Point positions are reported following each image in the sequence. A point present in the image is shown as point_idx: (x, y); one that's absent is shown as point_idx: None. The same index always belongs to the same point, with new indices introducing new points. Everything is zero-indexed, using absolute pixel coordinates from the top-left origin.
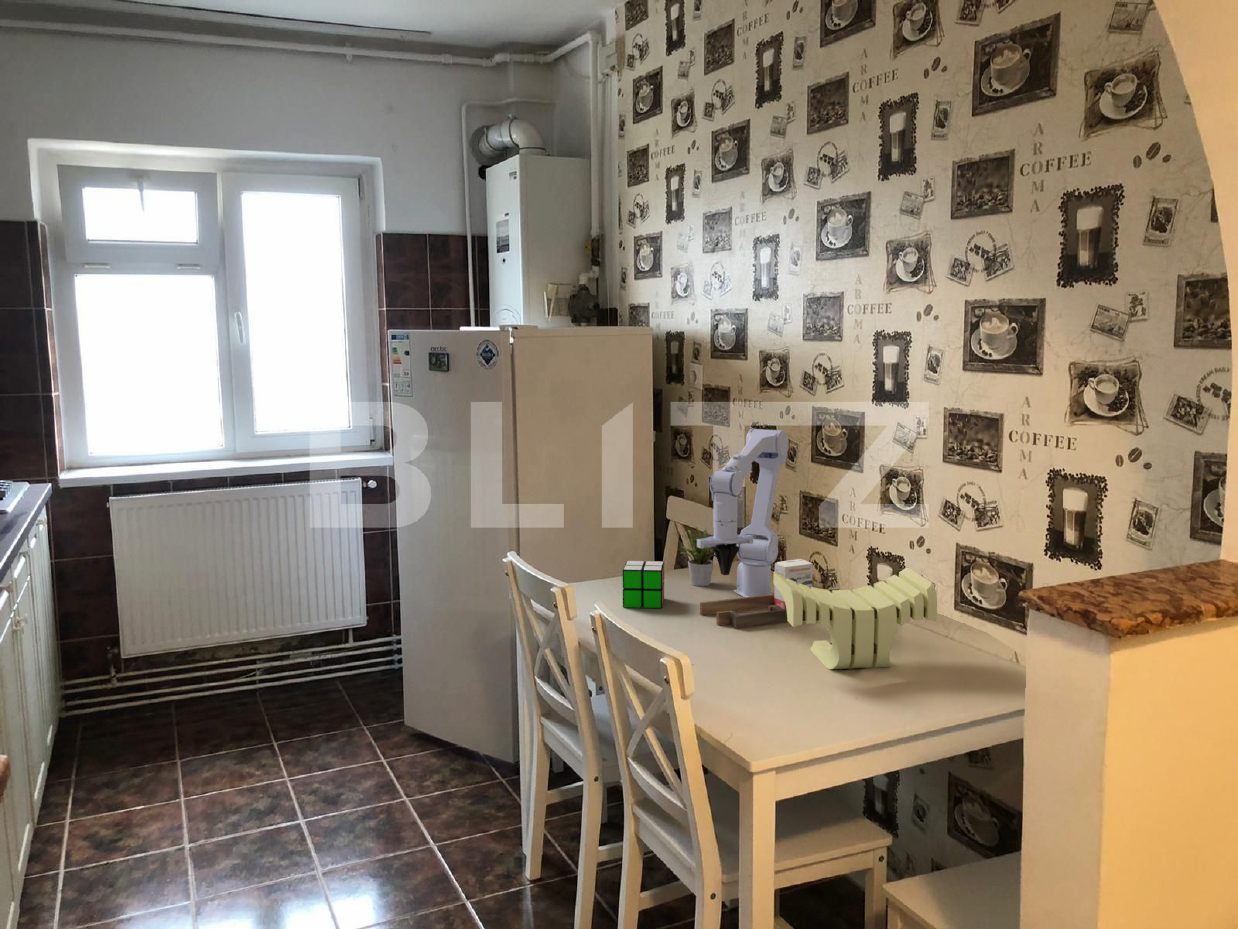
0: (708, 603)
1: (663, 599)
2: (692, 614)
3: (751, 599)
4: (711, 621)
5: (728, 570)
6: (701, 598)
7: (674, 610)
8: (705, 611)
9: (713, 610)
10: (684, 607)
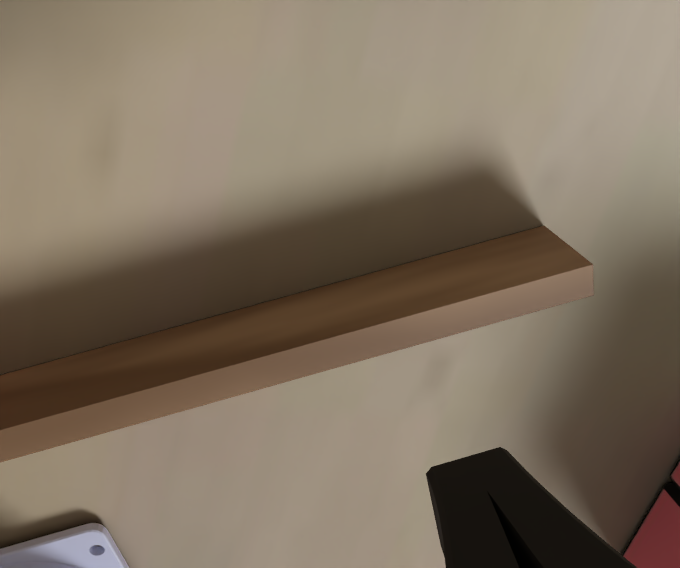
0: (527, 279)
1: (663, 511)
2: (595, 256)
3: (109, 391)
4: (531, 53)
5: (474, 503)
6: (413, 564)
7: (665, 351)
8: (526, 243)
9: (458, 262)
10: (579, 407)
